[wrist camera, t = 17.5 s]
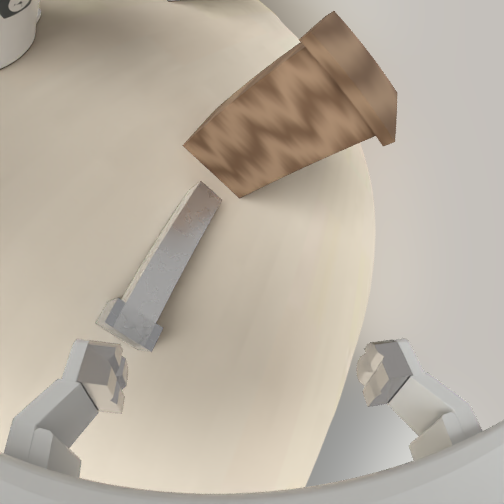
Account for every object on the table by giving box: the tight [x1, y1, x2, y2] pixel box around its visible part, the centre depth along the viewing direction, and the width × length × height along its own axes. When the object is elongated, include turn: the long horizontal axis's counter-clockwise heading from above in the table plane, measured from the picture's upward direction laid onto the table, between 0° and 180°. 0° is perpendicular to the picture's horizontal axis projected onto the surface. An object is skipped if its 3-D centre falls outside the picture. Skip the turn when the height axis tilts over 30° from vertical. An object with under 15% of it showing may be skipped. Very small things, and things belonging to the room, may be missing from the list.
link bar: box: [96, 181, 222, 352], centre depth 37 cm, size 6×22×4 cm, turn 151°
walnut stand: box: [183, 11, 397, 198], centre depth 38 cm, size 14×13×26 cm
